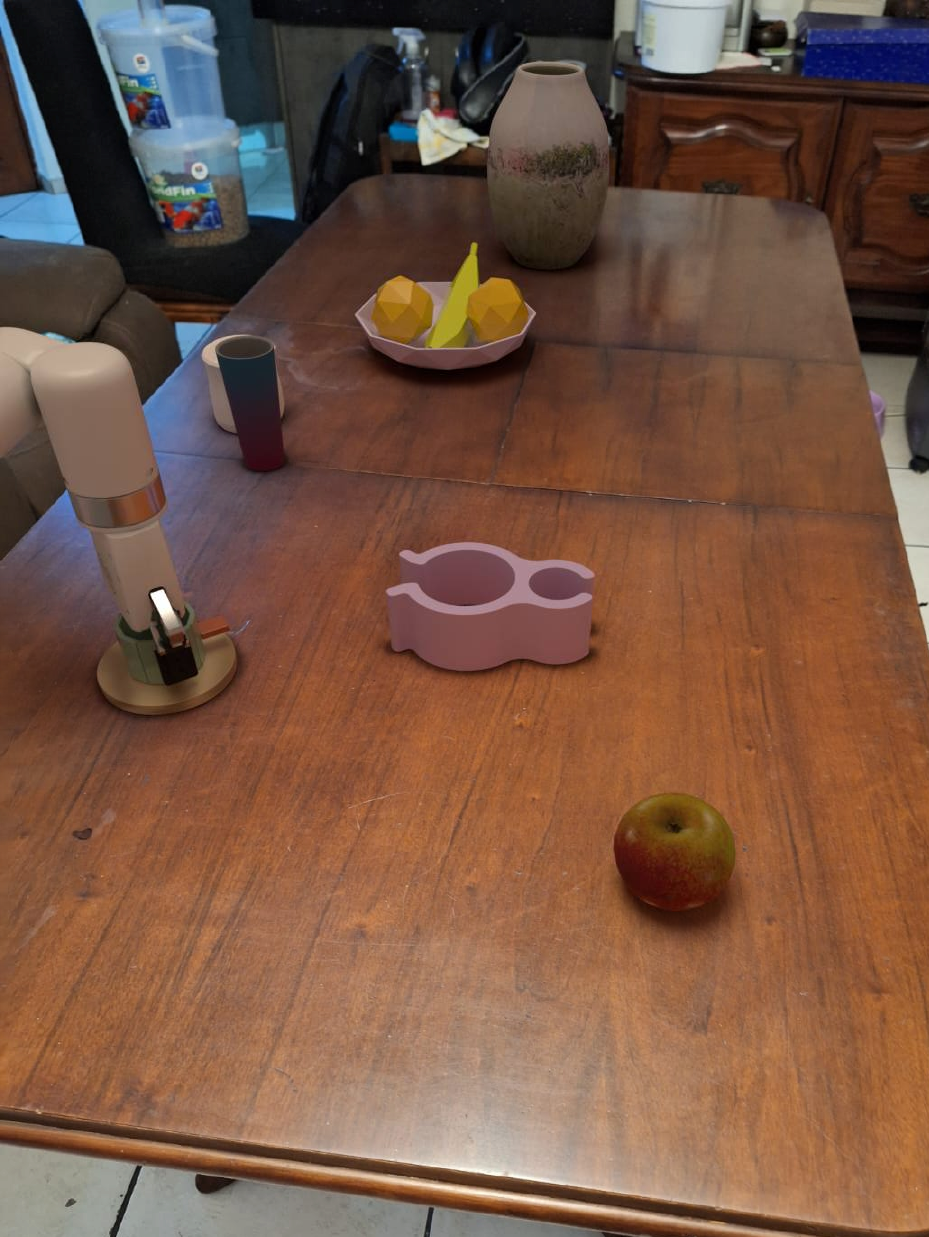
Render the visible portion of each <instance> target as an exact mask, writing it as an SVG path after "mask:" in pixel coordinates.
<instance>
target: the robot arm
mask: <svg viewBox="0 0 929 1237" xmlns="http://www.w3.org/2000/svg"><path fill="white" fill-rule="evenodd" d="M135 377H136V376H135V374H134V371H133V368H132V365H131V363H130V360H129V358H127V356H126V355H125V354H124V353H123V352H122V351H121V350H119V349H118V348H116V347H114V346H112V345H109V344H107V343H102V342H93V341H81V342H71V343H70V342H67V341H63V340H60V339H55V338H53V337H50V336H47V335H44V334H40V333H38V332H35V331H31V330H28V329H25V328H19V327H13V326H1V327H0V460H1V459H2V458H3V457H5V455H7V454H8V453H9V452H11V451H12V450H13V449H14V448H15V447H16V446H17V445H18V444H20V443H21V442H22V441H23V440H24V439H26V437H27V436H29V435H30V434H31V433H32V432H33V431H36V430H38V429H40V428H42V427H44V426H45V428H46V431H47V434H48V437H49V441H50V444H51V446H52V448H53V452H54V456H55V459H56V461H57V464H58V467H59V471H60V473H61V476H62V479H63V481H64V482H63V483H64V485H65V488H66V491H67V495H68V498H69V500H70V503H71V506H72V509H73V512H74V515H75V518H76V521H77V523H78V525H80V526H81V527H82V528H84V529H86V530H88V531H89V533H90V536H91V540H92V543H93V547H94V550H95V553H96V557H97V561H98V565H99V568H100V572H101V576H102V579H103V582H104V585H105V588H106V589H107V591H108V593H109V595H110V596H111V599H112V600H113V601H114V603H115V606H116V607H117V609H118V611H119V613H121V614H122V615H123V617H124V618H125V620H126V622H127V623H128V625H129V626H130V628H131V629H133V630H134V631H136V632H142V630H146V629H149V631H150V633H151V636H152V638H153V641H154V643H155V646H156V648H157V650H154V653H155V656H156V660H157V663H158V666H159V669H160V673H161V676H162V679H163V682H164V683H165V685H167V686H170V685H173V684H176V683H178V682H181V681H184V680H187V679H190V678H192V677H195V676H197V675H198V669H197V666H196V662H195V658H194V655H193V651H192V647H191V644H190V641H189V640H188V637H187V635H186V632H185V630H184V627H183V625H182V623H181V620H180V619H181V618H182V617H183V616H184V614H185V608H184V602H183V601H184V599H183V595H182V594H183V593H182V591H181V587H180V584H179V579H178V576H177V572H176V568H175V566H174V562H173V559H172V555H171V552H170V549H169V544H168V540H167V538H166V536H165V532H164V530H163V526H162V523H161V520H160V519H161V518H162V517H163V516H164V515H165V513H166V511H167V509H168V499H167V496H166V493H165V489H164V485H163V480H162V477H161V474H160V469H159V466H158V462H157V458H156V454H155V450H154V446H153V443H152V439H151V435H150V431H149V427H148V424H147V420H146V416H145V412H144V407H143V404H142V401H141V397H140V392H139V389H138V385H137V382H136V378H135ZM154 612H157V614H158V616H159V619H156V620H153V621H151V615H152V613H154ZM160 625H163V627H164V630H165V634H166V637H163V639H162V640H161V638H160V636H159V633H158V631H157V628H156V627H157V626H160Z"/></svg>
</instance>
